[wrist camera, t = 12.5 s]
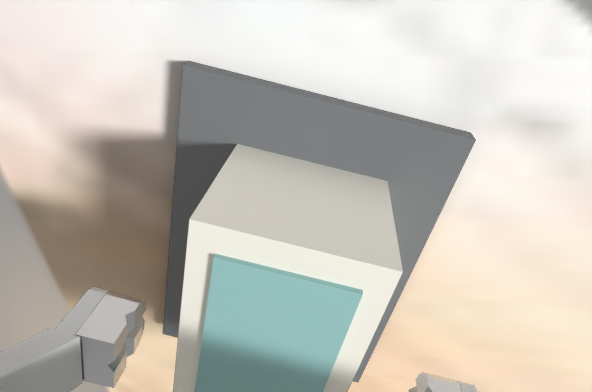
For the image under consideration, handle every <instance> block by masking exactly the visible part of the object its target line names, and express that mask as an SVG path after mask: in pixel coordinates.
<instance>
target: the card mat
mask: <svg viewBox="0 0 592 392" xmlns="http://www.w3.org/2000/svg"><path fill="white" fill-rule="evenodd" d="M475 141H476V140H475V138H474V137H473V135H472V134H471V133H469V132H466V131H462V130H458V129H454V128H450V127H446V126H442V125H438V124H434V123H430V122H426V121H422V120H419V119H415V118H411V117H407V116H403V115H399V114H395V113H391V112H387V111H383V110H379V109H375V108H371V107H368V106H364V105H360V104H356V103H352V102H348V101H344V100H340V99H336V98H332V97H328V96H324V95H321V94H317V93H313V92H309V91H305V90H301V89H297V88H293V87H289V86H285V85H281V84H277V83H274V82H270V81H266V80H262V79H258V78H254V77H250V76H246V75H242V74H238V73H234V72H230V71H226V70H223V69H219V68H215V67H211V66H207V65H203V64H199V63H195V62H191V61H189V62H188V63H186V64H184V65H183V71H182V84H181V97H180V111H179V124H178V137H177V151H176V164H175V177H174V191H173V204H172V217H171V231H170V244H169V257H168V271H167V284H166V297H165V311H164V324H163V334H166V335H170V336H174V337H178V333H179V323H180V312H181V302H182V291H183V281H184V270H185V260H186V250H187V239H188V229H189V219H190V218H191V216H192V214H193V213H194V211H195V210H196V208H197V206H198V205H199V203H200V202H201V200H202V199H203V197H204V195H205V194H206V192H207V191H208V189H209V188H210V186H211V184H212V183H213V181H214V180H215V178H216V177H217V175H218V173H219V172H220V170H221V169H222V167H223V166H224V164H225V162H226V161H227V159H228V158H229V156H230V155H231V153H232V151H233V150H234V148H235V147H236V145H237V144H240V145H244V146H248V147H252V148H256V149H260V150H264V151H268V152H272V153H276V154H280V155H285V156H289V157H293V158H297V159H301V160H305V161H309V162H313V163H317V164H321V165H325V166H329V167H333V168H337V169H341V170H345V171H349V172H353V173H357V174H361V175H365V176H369V177H373V178H377V179H381V180H385V181H388V187H389V193H390V199H391V205H392V210H393V216H394V222H395V228H396V234H397V240H398V246H399V252H400V258H401V264H402V270H403V273H402V275H401V277H400V279H399V281H398V284H397V286H396V288H395V290H394V292H393V294H392V297H391V299H390V301H389V303H388V305H387V307H386V310H385V312H384V314H383V316H382V318H381V320H380V323H379V325H378V327H377V329H376V331H375V333H374V336H373V338H372V340H371V342H370V344H369V346H368V349H367V351H366V353H365V355H364V357H363V359H362V361H361V364H360V366H359V368H358V370H357V372H356V374H355V377H354V379H353V381H354V382H359V380H360V378H361V375H362V373H363V371H364V369H365V367H366V365H367V363H368V361H369V359H370V357H371V355H372V353H373V351H374V349H375V347H376V345H377V342H378V340H379V338H380V336H381V334H382V332H383V330H384V328H385V326H386V324H387V322H388V320H389V318H390V316H391V314H392V312H393V310H394V307H395V305H396V303H397V301H398V299H399V297H400V295H401V293H402V291H403V289H404V287H405V285H406V283H407V281H408V279H409V277H410V274H411V272H412V270H413V268H414V266H415V264H416V262H417V260H418V258H419V256H420V254H421V252H422V250H423V248H424V246H425V244H426V242H427V239H428V237H429V235H430V233H431V231H432V229H433V227H434V225H435V223H436V221H437V219H438V217H439V215H440V213H441V211H442V209H443V207H444V204H445V202H446V200H447V198H448V196H449V194H450V192H451V190H452V188H453V186H454V184H455V182H456V180H457V178H458V176H459V174H460V171H461V169H462V167H463V165H464V163H465V161H466V159H467V157H468V155H469V153H470V151H471V149H472V147H473V145H474V143H475Z"/></svg>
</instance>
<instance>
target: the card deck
mask: <svg viewBox="0 0 592 392" xmlns="http://www.w3.org/2000/svg"><path fill="white" fill-rule="evenodd" d="M402 273H403V270H402V264H401V258H400V252H399V246H398V240H397V234H396V228H395V222H394V216H393V210H392V205H391V199H390V193H389V187H388V181H385V180H381V179H377V178H373V177H369V176H365V175H361V174H357V173H353V172H349V171H345V170H341V169H337V168H333V167H329V166H325V165H321V164H317V163H313V162H309V161H305V160H301V159H297V158H293V157H289V156H285V155H280V154H276V153H272V152H268V151H264V150H260V149H256V148H252V147H248V146H244V145H240V144H237V145H236V147H235V148H234V150H233V151H232V153H231V155H230V156H229V158H228V159H227V161H226V162H225V164H224V166H223V167H222V169H221V170H220V172H219V173H218V175H217V177H216V178H215V180H214V181H213V183H212V184H211V186H210V188H209V189H208V191H207V192H206V194H205V195H204V197H203V199H202V200H201V202H200V203H199V205H198V206H197V208H196V210H195V211H194V213H193V214H192V216H191V218H190V219H189V229H188V239H187V250H186V260H185V270H184V281H183V291H182V302H181V312H180V323H179V333H178V343H177V354H176V364H175V375H174V385H173V392H348V390H349V387H350V385H351V383H352V381H353V379H354V377H355V374H356V372H357V370H358V368H359V366H360V364H361V361H362V359H363V357H364V355H365V353H366V351H367V349H368V346H369V344H370V342H371V340H372V338H373V336H374V333H375V331H376V329H377V327H378V325H379V323H380V320H381V318H382V316H383V314H384V312H385V310H386V307H387V305H388V303H389V301H390V299H391V297H392V294H393V292H394V290H395V288H396V286H397V284H398V281H399V279H400V277H401V275H402Z"/></svg>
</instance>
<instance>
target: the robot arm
mask: <svg viewBox="0 0 592 392" xmlns="http://www.w3.org/2000/svg"><path fill="white" fill-rule="evenodd" d="M144 311H145V301H143V300H140V299H136V298H133V297H129V296H126V295H122V294H119V293H115V292H112V291H108V290H104V289H100V288H97V287H92V288H90V289H88V290H87V291H86V292H85V294H84V295H83V296H82V297H81V298H80V300H79V301H78V302H77V303H76V305H75V306H74V307H73V308H72V309H71V311H70V312H69V313H68V314H67V315H66V317H65V318H64V319H63V320H62V322H61V323H60V324H59V325H58V326H57V327H56V329H55V330H53V329H47V330H45V331H43V332H41V333H39V334H37V335H34V336H32V337H30V338H28V339H26V340H24V341H21V342H20V343H17V344H15V345H13V346H11V347H9V348H6V349H4V350H2V351H0V392H70V391H72V390H73V389H75V388H76V387H77V386H79V385H80V384H82V382H83V381H86V382H90V383H95V384H99V385H103V386H108V387H112V388H114V387H115V385H116V383H117V381H118V380H119V378H120V376H121V374H122V373H123V371H124V369H125V368H126V357H128V356H130V355H131V354H133V353H134V352H135V350H136V348H137V346H138V344H139V342H140V339H141V337H142V334H143V329H144V319H143V318H142V314H143V312H144ZM416 384H417V386H416V387H414V388H412V389H410V390H409V392H478V390H477V388H476V387H475V386H474V385H471V384H467V383H463V382H459V381H455V380H453V379H448V378H444V377H440V376H436V375H432V374H428V373H424V372H422V373H420V374H419V375H418V377H417V379H416Z"/></svg>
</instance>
